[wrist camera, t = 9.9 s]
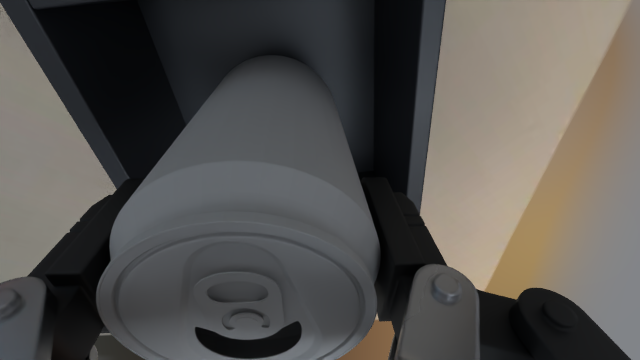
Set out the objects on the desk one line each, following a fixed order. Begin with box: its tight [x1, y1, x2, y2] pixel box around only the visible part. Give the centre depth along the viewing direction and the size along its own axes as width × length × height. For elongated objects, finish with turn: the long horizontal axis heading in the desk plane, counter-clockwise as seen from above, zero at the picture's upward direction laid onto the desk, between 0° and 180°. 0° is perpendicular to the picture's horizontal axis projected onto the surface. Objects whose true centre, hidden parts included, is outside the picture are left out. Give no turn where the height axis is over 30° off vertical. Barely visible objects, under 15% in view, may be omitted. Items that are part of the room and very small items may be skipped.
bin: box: [0, 0, 446, 216], centre depth 15 cm, size 14×14×8 cm
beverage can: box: [96, 55, 381, 360], centre depth 11 cm, size 6×6×12 cm
